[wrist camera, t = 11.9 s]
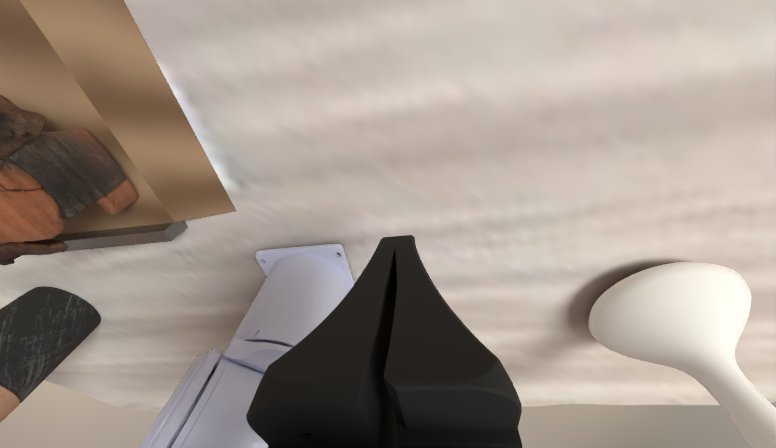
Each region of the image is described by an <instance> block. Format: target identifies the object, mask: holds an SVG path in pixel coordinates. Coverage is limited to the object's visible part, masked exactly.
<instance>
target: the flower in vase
mask: <svg viewBox="0 0 776 448" xmlns="http://www.w3.org/2000/svg"><path fill="white" fill-rule="evenodd" d="M750 305H751V293H750V290H749V288H748V286H747V285H746V283H745V281H744V280H743V278H742V277H741V276H740V275H739V274H738V273H737V272H735V271H734V270H732V269H730V268H727V267H724V266H720V265H715V264H709V263H703V262H676V263H669V264H663V265H659V266H655V267H652V268H649V269H646V270H643V271H640V272H638V273H635V274H633V275H631V276H628V277H626V278H624V279H623V280H621V281H619V282H618V283H616V284H614V285H613V286H612V287H610V288H609V289H608V290H606V291H605V292H604V293H603V294H602V295H601V296H600V297H599V298H598V299H597V301H596V302H595V303H594V305H593V307H592V309H591V312H590V316H589V330H590V332H591V334H592V336H593V337H594V338H595V339H596V340H597V341H599V342H600V343H601V344H602V345H604V346H605V347H606V348H608V349H610V350H612V351H614V352H617V353H619V354H622V355H625V356H628V357H631V358H635V359H639V360H643V361H647V362H651V363H655V364H660V365H664V366H668V367H672V368H676V369H678V370H681V371H683V372H685V373H687V374H689V375H690V376H692V377H693V378H695V379H696V380H697V381H698V382H699V383H700V384H701V385H703V386H704V387H705V388H706V389H707V390H708V391H709V393H710V394H711V395H712V396H713V397H714V398H715V399H716V400H717V402H718V403H719V404H720V405H721V406H722V408H723V409H724V410H725V412H726V413H727V414H728V415H729V417H730V418H731V419H732V420H733V422H734V423H735V425H736V426H737V428H738V429H739V430H740V432H741V433H742V435H743V436H744V438H745V439H746V441H747V442H748V444H749V445H750V447H751V448H776V408H775V407H774V406H773V405H772V404H771V403H770V402H769V401H768V400H767V399H766V398H765V397H764V396H763V395H761V394H760V393H759V391H758V390H757V389H756V388H755V387H754V386H753V385H752V384H751V383H750V382H749V380H748V379H747V378H746V377H745V376H744V374H743V373H742V371H741V370H740V369H739V367H738V365H737V363H736V360H735V348H736V345H737V342H738V340H739V337H740V335H741V333H742V331H743V329H744V326H745V324H746V322H747V319H748V316H749V313H750Z"/></svg>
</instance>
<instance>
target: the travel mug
mask: <svg viewBox="0 0 776 448" xmlns="http://www.w3.org/2000/svg"><path fill="white" fill-rule="evenodd" d="M100 320H101V318H100V315H99V313H98V312H97V311H96V310H95V308H94V307H92V306H91V305H90V304H89V303H87V302H86V301H84V300H83V299H81V298H79V297H78V296H76V295H74V294H71V293H69V292H66V291H63V290H60V289H57V288H52V287H37V288H34V289H32V290H30V291H28V292H27V293H25V294H24V295H22V296H20V297H19V298H17V299H16V300H14V301H13V302H11V303H9V304H8V305H6V306H5V307H3V308H2V309H0V422H1V421H2V420H4V419H5V418H6V417H7V416H8V415H9V414H10V413H11V412H12V411H13V410H14V409H15V408H16V407H17V406H18V405H19V404H20V403H21V402H22V401H23V400H24V399H25V398H26V397H27V396H28V395H29V394H30V393H31V392H32V391H33V390H34V389H35V388H36V387H37V386H38V385H39V384H40V383H41V382H42V381H43V380H44V379H45V378H46V377H47V376H48V375H49V374H50V373H51V372H52V371H53V370H54V369H55V368H56V367H57V366H58V365H59V364H60V363H61V362H62V361H63V360H64V359H65V358H66V357H67V356H68V355H69V354H70V353H71V352H72V351H73V350H74V349H75V348H76V347H77V346H78V345H79V344H80V343H81V342H82V341H83V340H84V339H85V338H86V337H87V336H88V335H89V334H90V333H91V332H92V331H93V330H94V329H95V328H96V327H97V326H98V325H99V323H100Z"/></svg>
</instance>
